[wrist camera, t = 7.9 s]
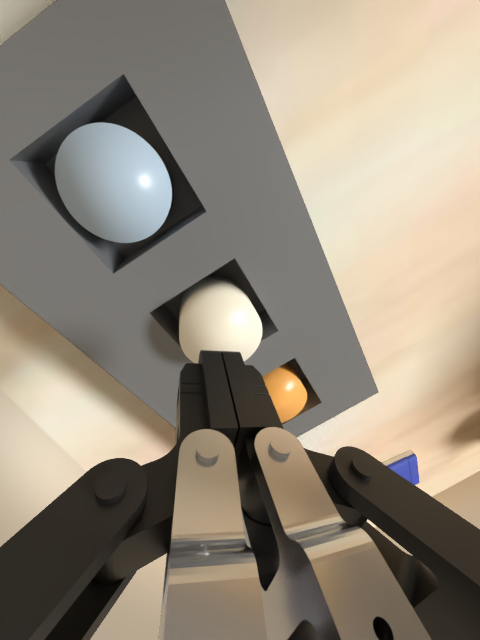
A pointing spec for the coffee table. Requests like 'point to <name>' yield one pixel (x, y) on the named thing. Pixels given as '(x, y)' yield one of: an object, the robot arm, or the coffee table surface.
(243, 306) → the cream button
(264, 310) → the button panel
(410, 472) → the hard drive
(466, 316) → the coffee table surface
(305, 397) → the orange button
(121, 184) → the blue button
